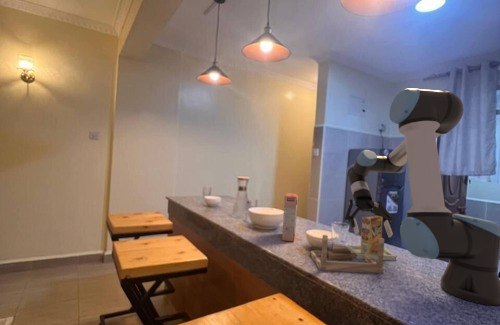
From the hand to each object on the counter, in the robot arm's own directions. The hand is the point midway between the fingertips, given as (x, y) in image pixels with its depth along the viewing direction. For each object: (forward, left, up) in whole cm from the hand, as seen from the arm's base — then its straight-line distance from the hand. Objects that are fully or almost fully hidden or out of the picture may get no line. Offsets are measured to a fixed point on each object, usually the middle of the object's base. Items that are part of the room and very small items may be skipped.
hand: (374, 234), depth 113 cm
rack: (-9, +15, -9) cm, 20 cm away
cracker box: (+21, +31, -9) cm, 39 cm away
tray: (+2, 0, -9) cm, 9 cm away
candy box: (+2, 0, -9) cm, 9 cm away
